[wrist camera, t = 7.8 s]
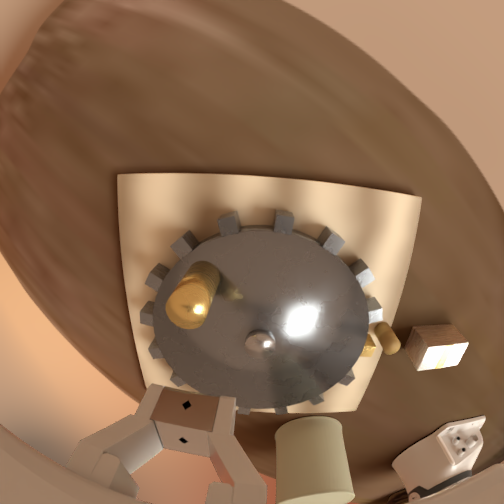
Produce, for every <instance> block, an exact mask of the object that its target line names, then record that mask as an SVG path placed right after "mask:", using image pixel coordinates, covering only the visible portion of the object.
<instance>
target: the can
mask: <svg viewBox="0 0 504 504" xmlns="http://www.w3.org/2000/svg"><path fill="white" fill-rule="evenodd" d="M275 441H276V503H275V504H346V503H348V502H350V501H351V500H353V499H354V497H355V494H354V491H353V487H352V481H351V476H350V471H349V466H348V461H347V456H346V451H345V446H344V440H343V435H342V425H341V423H340V422H339V421H338V420H336V419H334V418H331V417H327V416H307V417H302V418H298V419H295V420H292V421H289V422H287V423H285V424H284V425H282V426H281V427H280V428H279V429H278V430H277V431H276V433H275Z"/></svg>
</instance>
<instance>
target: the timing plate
mask: <svg viewBox="0 0 504 504" xmlns="http://www.w3.org/2000/svg"><path fill="white" fill-rule="evenodd" d="M117 186H118V216H119V232H120V245H121V256H122V265H123V273H124V281H125V288H126V295H127V302H128V308H129V314H130V319H131V325H132V330H133V335H134V340H135V344H136V349H137V353H138V358H139V362H140V366H141V370H142V374H143V378H144V381H145V385H146V389H148V387H149V386H150V385H151V384H152V383H154V384H158V385H162V386H167V387H171V388H176V389H180V390H185V391H190V392H198V391H197V390H195V389H194V388H192V387H191V386H189V385H188V384H184V385H182V386H180V387H177V386H176V385H175V384H174V383H173V382H172V381H171V380H170V378H171V375H172V373H173V370H172V368H171V367H170V366H169V364H168V363H167V362H166V360H165V358H161V359H153V358H152V356H151V354H150V352H149V350H148V348H149V346H150V344H151V343H152V341H153V339H154V337H155V334H154V327H152V326H148V325H144V324H140V311H141V309H142V308H143V307H144V305H145V304H146V303H147V302H148V301H152V302H155V298H156V295H157V293H158V292H157V291H155V290H153V289H152V288H150V287H149V286H147V285H145V282H146V279H147V277H148V275H149V273H150V271H151V270H152V269H153V268H154V267H155V266H156V265H157V264H158V263H160V264H162V265H163V266H165V267H167V268H168V269H170V270H171V269H172V268H173V267H174V265H175V264H176V263H177V262H178V261H179V259H180V258H179V257H178V256H177V255H176V253H175V252H174V251H173V250H172V248H171V247H170V246H171V245H172V244H173V243H174V242H175V241H176V240H177V239H178V238H180V237H181V236H182V235H183V234H185V233H186V232H187V231H188V230H190V231H191V232H192V234H193V235H194V236H195V237H196V239H197V240H198V241H199V242H201V241H202V240H204V239H205V238H207V237H210V236H212V235H214V234H216V233H218V232H220V229H219V226H218V222H217V219H218V218H219V217H220V216H221V214H225V213H229V212H233V211H238V215H239V219H240V223H241V226H248V225H272V226H273V222H274V217H275V211H276V209H277V210H283V211H288V212H292V213H293V215H294V217H295V219H294V224H293V229H294V230H297V231H300V232H302V233H305V234H308V235H310V236H312V237H314V238H316V239H317V240H318V237H319V236H320V234H321V233H322V231H323V230H324V228H325V227H326V226H327V227H329V228H330V229H332V230H333V231H335V232H336V233H337V234H339V235H340V236H341V237H342V239H343V240H344V241H345V243H344V245H343V246H342V248H341V249H340V250H339V252H338V253H337V254H338V255H339V256H340V257H341V258H342V260H343V261H344V262H345V263H346V264H347V266H350V265H351V264H353V263H354V262H356V261H357V260H358V259H360V258H361V259H362V260H363V261H364V262H365V264H366V265H367V266H368V267H369V269H370V271H371V272H372V274H373V276H374V278H375V280H374V281H372V282H371V283H369V284H368V285H366V286H365V287H363V288H362V287H361V288H362V290H363V292H364V294H365V298H366V299H367V298H371V297H375V298H376V300H377V301H378V302H379V304H380V305H381V307H382V320H381V321H378V322H374V323H370V324H369V330H368V334H370V335H371V337H372V339H373V341H374V343H375V345H376V348H375V350H374V352H373V355H372V357H360V356H359V358H358V360H357V362H356V363H355V364H354V366H353V367H352V370H353V373H354V376H355V379H354V380H353V381H352V382H351V383H350V384H349V385H348V386H345V385H343V384H340V383H337V384H335V385H334V386H333V387H331V388H330V389H328V390H327V391H325V392H324V393H323V396H324V401H323V402H321V403H319V404H317V405H313V404H312V403H311V402H310V401H309V400H307V401H305V402H302V403H298V404H295V405H291V406H287V407H288V413H325V412H344V411H356V409H357V407H358V405H359V403H360V401H361V399H362V396H363V394H364V392H365V390H366V388H367V386H368V384H369V381H370V379H371V377H372V374H373V372H374V370H375V367H376V365H377V363H378V360H379V358H380V355H381V353H382V350H384V352H385V353H386V354H388V355H391V354H394V353H395V352H397V351H398V350H399V348H400V345H401V344H400V342H399V340H398V338H397V337H396V335H395V334H394V332H393V330H392V329H391V325H392V322H393V319H394V316H395V313H396V310H397V307H398V304H399V301H400V297H401V294H402V290H403V287H404V283H405V279H406V276H407V272H408V268H409V264H410V259H411V255H412V251H413V246H414V241H415V236H416V231H417V226H418V220H419V214H420V208H421V201H422V198H421V197H418V196H414V195H409V194H404V193H398V192H392V191H387V190H380V189H374V188H368V187H361V186H354V185H347V184H339V183H331V182H323V181H314V180H304V179H294V178H283V177H270V176H256V175H238V174H214V173H130V174H118V175H117ZM349 269H350V268H349ZM199 393H200V392H199ZM236 410H238V406H236ZM250 411H254V412H273V413H275V410H274V408H271V409H253V408H251V410H250Z"/></svg>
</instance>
